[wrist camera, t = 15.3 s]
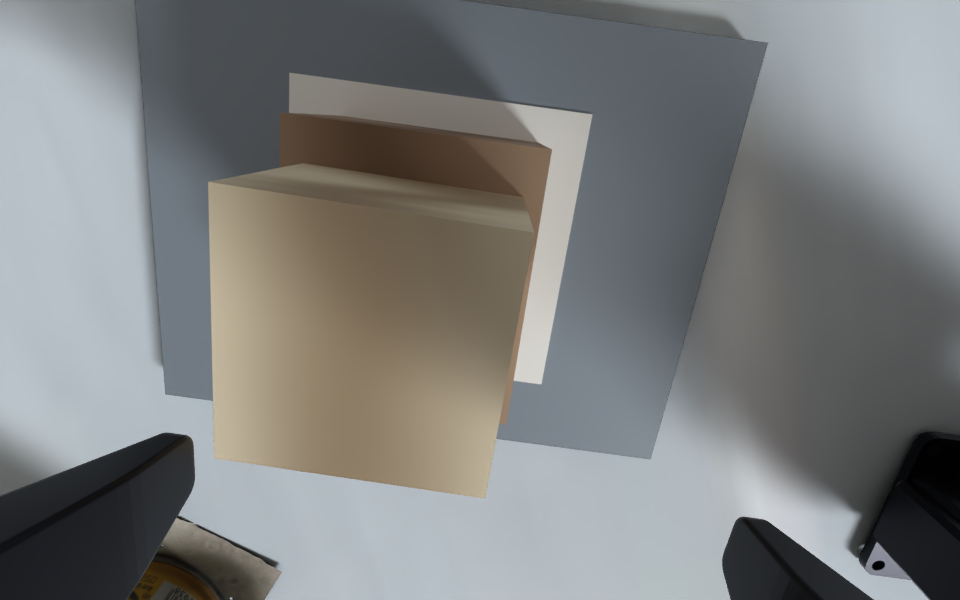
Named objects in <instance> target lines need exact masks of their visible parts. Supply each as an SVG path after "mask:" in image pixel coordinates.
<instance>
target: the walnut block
mask: <svg viewBox="0 0 960 600" xmlns="http://www.w3.org/2000/svg"><path fill="white" fill-rule="evenodd" d="M551 153H552V149H550V148H548V147H546V146H544V145H542V144H540V143H538V142H531V141H524V140H516V139H509V138H501V137H494V136H487V135H479V134H472V133H465V132H457V131H450V130H442V129H435V128H428V127H420V126H413V125H406V124H398V123H391V122H383V121H376V120H369V119H361V118H354V117H347V116H338V115H319V114H300V113H281V112H280V137H279V168H281V167H286V166H291V165H296V164H301V163H306V164H312V165H319V166H325V167H332V168H338V169H345V170H351V171H357V172H364V173H370V174H377V175H383V176H390V177H396V178H402V179H409V180H415V181H422V182H428V183H435V184H441V185H447V186H454V187H460V188H467V189H473V190H480V191H486V192H492V193H499V194H505V195H512V196H518V197H524V201H525V204H526V207H527V210H528V213H529V217H530V220H531V223H532V226H533V229H534V237H533V243H532V248H531V254H530V259H529V264H528V270H527V275H526V281H525V286H524V291H523V297H522V302H521V308H520V313H519V318H518V324H517V329H516V335H515V340H514V345H513V351H512V356H511V362H510V367H509V372H508V378H507V383H506V389H505V394H504V399H503V405H502V410H501V416H500V421H499V424H505V425H506V423H507V417H508V411H509V405H510V399H511V393H512V387H513V381H514V375H515V369H516V363H517V357H518V351H519V345H520V339H521V333H522V327H523V321H524V315H525V309H526V303H527V297H528V291H529V285H530V279H531V273H532V267H533V261H534V255H535V249H536V243H537V237H538V231H539V225H540V219H541V213H542V207H543V201H544V195H545V189H546V183H547V177H548V171H549V165H550V159H551Z"/></svg>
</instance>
